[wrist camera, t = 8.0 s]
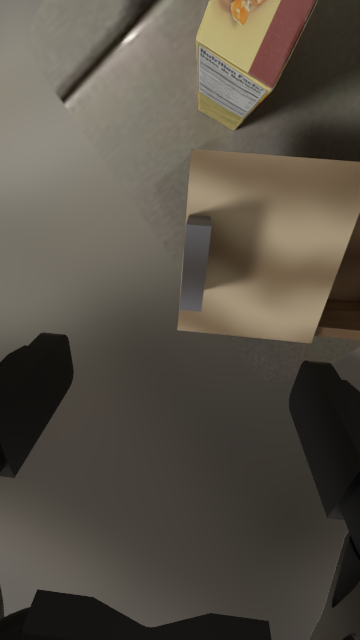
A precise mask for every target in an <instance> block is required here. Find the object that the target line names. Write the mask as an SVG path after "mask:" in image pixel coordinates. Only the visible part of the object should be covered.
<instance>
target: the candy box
mask: <svg viewBox="0 0 360 640" xmlns="http://www.w3.org/2000/svg"><path fill="white" fill-rule="evenodd" d="M317 2H318V0H209V3H208V6H207V8H206V11H205V14H204V17H203V20H202V22H201V25H200V28H199V31H198V33H197V37H196V49H197V80H198V110H199V111H201V112H203V113H205V114H206V115H208V116H210V117H211V118H213V119H215V120H216V121H218V122H220V123H222V124H223V125H225V126H227V127H228V128H230V129H232V130H236V128H237V127H238V126H239V125H240V124H241V123H242V122H243V121H244V120H245V119H246V118H247V117H248V116H249V115H250V114H251V113H252V112H253V110H255V108H256V107H257V106H258V105H259V104H260V103H261V102H262V101H263V100H264V99H265V98H266V97H267V96H268V95H269V94H270V93H271V92H272V91H273V89H274V88H275V86H276V84H277V82H278V80H279V78H280V76H281V74H282V72H283V70H284V69H285V67H286V65H287V63H288V61H289V59H290V57H291V55H292V53H293V51H294V49H295V47H296V45H297V43H298V41H299V39H300V37H301V35H302V32H303V30H304V28H305V26H306V24H307V22H308V20H309V18H310V16H311V14H312V12H313V10H314V8H315V6H316V4H317Z"/></svg>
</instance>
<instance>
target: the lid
mask: <svg viewBox="0 0 360 640" xmlns="http://www.w3.org/2000/svg"><path fill="white" fill-rule="evenodd" d="M359 213H360V162H354V161H341V160H328V159H315V158H302V157H289V156H277V155H264V154H251V153H238V152H225V151H212V150H199V149H191V160H190V173H189V186H188V199H187V212H186V226H185V239H184V252H183V265H182V278H181V291H180V304H179V318H178V330H182V331H192V332H203V333H214V334H223V335H233V336H243V337H253V338H263V339H273V340H283V341H294V342H304V343H311V342H312V339H313V336H314V334H315V331H316V328H317V326H318V323H319V320H320V318H321V315H322V312H323V310H324V307H325V304H326V302H327V299H328V296H329V293H330V291H331V288H332V285H333V283H334V280H335V277H336V275H337V272H338V269H339V267H340V264H341V261H342V259H343V256H344V253H345V250H346V248H347V245H348V242H349V240H350V237H351V234H352V232H353V229H354V226H355V224H356V221H357V218H358V216H359Z"/></svg>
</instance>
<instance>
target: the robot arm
mask: <svg viewBox="0 0 360 640" xmlns="http://www.w3.org/2000/svg"><path fill="white" fill-rule="evenodd" d="M73 372H74V371H73V364H72V357H71V351H70V345H69V340H68V337H67V336H66V335H62V334H52V333H41V334H40V335H38V336H37V337H36V339H34V341H32V342H31V344H29V345H28V346H23V347H21V348H19V349H17V350H15V351H13V352H12V353H10V354H8V355H7V356H6V357H5V358H4V359H3V360H2V361H1V362H0V476H3V477H11V478H14V477H15V476H16V474H17V473H18V471H19V470H20V468H21V466H22V465H23V463H24V461H25V460H26V458H27V456H28V455H29V453H30V451H31V450H32V448H33V447H34V445H35V443H36V442H37V440H38V439H39V437H40V435H41V434H42V432H43V430H44V429H45V427H46V425H47V424H48V422H49V420H50V419H51V417H52V415H53V414H54V412H55V411H56V409H57V407H58V406H59V404H60V403H61V401H62V399H63V398H64V396H65V394H66V393H67V391H68V389H69V388H70V386H71V383H72V380H73ZM289 409H290V413H291V416H292V419H293V422H294V424H295V427H296V430H297V433H298V436H299V439H300V442H301V444H302V447H303V450H304V453H305V456H306V459H307V462H308V465H309V467H310V470H311V473H312V476H313V479H314V482H315V484H316V487H317V490H318V493H319V496H320V499H321V502H322V505H323V507H324V510H325V513H326V516H327V518H333V519H340V520H345V523H346V525H347V528H348V530H349V531H348V532H347V534H346V535H345V538H344V541H343V545H342V548H341V551H340V555H339V558H338V562H337V565H336V569H335V572H334V575H333V579H332V582H331V586H330V589H329V592H328V596H327V599H326V603H325V606H324V609H323V611H322V614H321V616H320V618H319V620H318V622H317V624H316V626H315V628H314V630H313V632H312V634H311V636H310V639H309V640H360V392H359V391H358V390H357V389H356V388H355V387H354V386H352V385H351V384H350V383H349V382H348V381H346V380H341V378H340V377H339V375H338V373H337V372H336V370H335V369H334V367H333V366H332V365H331V364H330V363H326V362H316V361H304V362H303V363H302V364H301V366H300V369H299V372H298V374H297V377H296V380H295V382H294V385H293V388H292V391H291V393H290V398H289ZM0 640H271V634H270V627H269V621H264V620H257V619H249V618H241V617H234V616H227V615H220V614H212V613H210V614H206V615H202V616H198V617H194V618H190V619H185V620H181V621H177V622H173V623H169V624H165V625H161V626H158V627H152V628H150V627H145V626H143V625H141V624H139V623H137V622H136V621H134V620H132V619H130V618H129V617H127V616H125V615H123V614H122V613H120V612H118V611H116V610H115V609H113V608H111V607H109V606H108V605H106V604H104V603H102V602H101V601H99V600H97V599H95V598H94V597H88V596H81V595H73V594H66V593H59V592H51V591H44V590H37V592H36V594H35V597H34V600H33V602H32V604H31V607H29V608H25V609H22V610H20V611H17V612H15V613H12V614H9V615H8V616H6V617H4V604H3V596H2V591H1V586H0Z"/></svg>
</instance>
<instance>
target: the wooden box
mask: <svg viewBox="0 0 360 640" xmlns="http://www.w3.org/2000/svg"><path fill="white" fill-rule="evenodd" d="M314 336H322V337H333V338H343V339H353V340H360V213H359V216H358V218H357V221H356V224H355V226H354V229H353V232H352V234H351V237H350V240H349V242H348V245H347V248H346V250H345V253H344V256H343V259H342V261H341V264H340V267H339V269H338V272H337V275H336V277H335V280H334V283H333V285H332V288H331V291H330V293H329V296H328V299H327V302H326V304H325V307H324V310H323V312H322V315H321V318H320V320H319V323H318V326H317V328H316V331H315V334H314Z"/></svg>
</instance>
